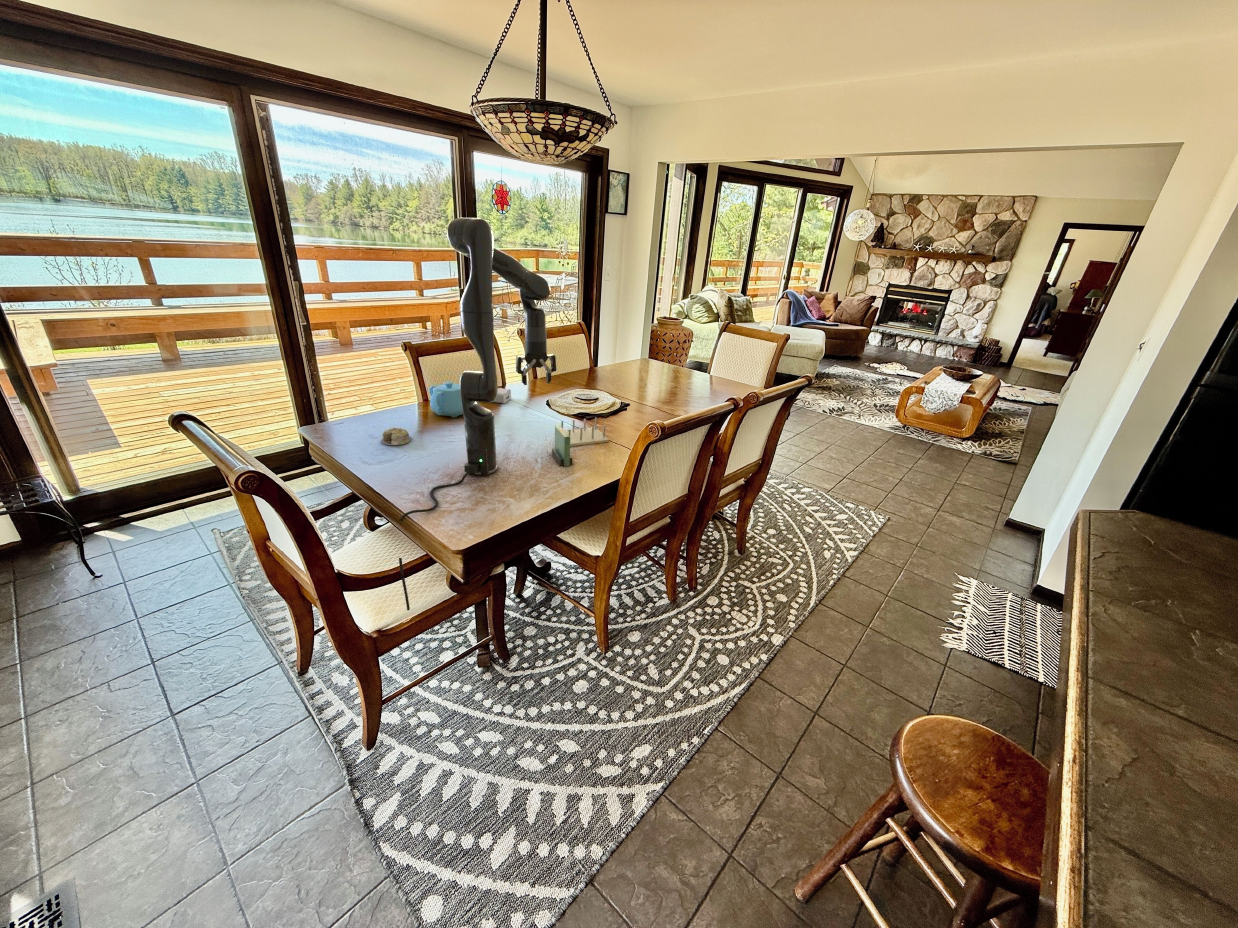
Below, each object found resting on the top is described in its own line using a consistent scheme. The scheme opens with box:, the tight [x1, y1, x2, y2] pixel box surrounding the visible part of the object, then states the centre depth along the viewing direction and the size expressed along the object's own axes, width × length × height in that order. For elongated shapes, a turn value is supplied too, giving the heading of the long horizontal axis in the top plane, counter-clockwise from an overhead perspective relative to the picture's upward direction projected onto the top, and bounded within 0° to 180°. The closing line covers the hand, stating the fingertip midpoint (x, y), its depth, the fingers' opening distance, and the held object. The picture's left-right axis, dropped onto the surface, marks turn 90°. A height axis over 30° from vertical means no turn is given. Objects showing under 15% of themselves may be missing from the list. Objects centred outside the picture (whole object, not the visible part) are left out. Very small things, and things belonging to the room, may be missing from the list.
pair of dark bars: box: [551, 447, 573, 467], centre depth 171 cm, size 10×4×2 cm, turn 24°
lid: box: [554, 424, 571, 467], centre depth 169 cm, size 11×2×11 cm, turn 24°
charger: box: [493, 387, 512, 404], centre depth 225 cm, size 5×9×15 cm
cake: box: [381, 427, 412, 446], centre depth 176 cm, size 10×10×5 cm
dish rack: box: [560, 417, 610, 447], centre depth 190 cm, size 14×16×6 cm
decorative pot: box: [428, 381, 463, 418], centre depth 204 cm, size 16×16×14 cm
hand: (536, 383), depth 175 cm, fingers open, 8 cm apart
